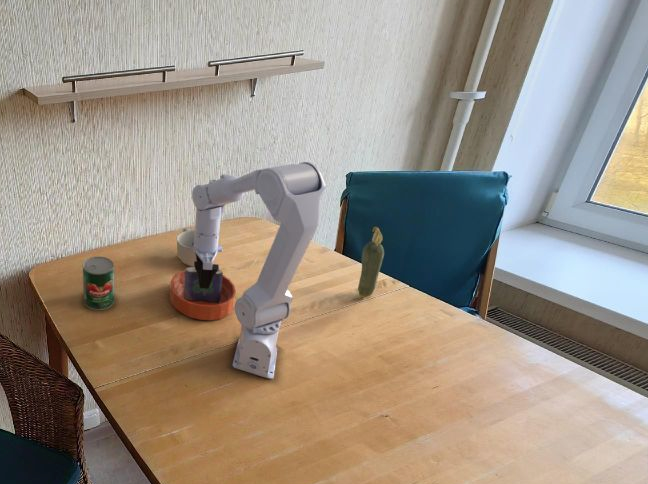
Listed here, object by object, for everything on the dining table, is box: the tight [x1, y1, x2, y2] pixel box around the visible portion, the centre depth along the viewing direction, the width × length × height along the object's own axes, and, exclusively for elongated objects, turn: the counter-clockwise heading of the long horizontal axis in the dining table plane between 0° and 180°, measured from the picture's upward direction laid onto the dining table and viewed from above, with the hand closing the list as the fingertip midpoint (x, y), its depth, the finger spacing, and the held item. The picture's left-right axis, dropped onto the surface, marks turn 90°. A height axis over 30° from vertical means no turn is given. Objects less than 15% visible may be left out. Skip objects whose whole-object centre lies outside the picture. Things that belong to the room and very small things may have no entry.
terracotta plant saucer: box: [169, 269, 237, 321], centre depth 109 cm, size 16×16×4 cm
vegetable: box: [357, 226, 385, 298], centre depth 105 cm, size 4×4×20 cm
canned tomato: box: [81, 256, 115, 311], centre depth 109 cm, size 8×8×11 cm
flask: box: [183, 266, 224, 303], centre depth 108 cm, size 9×3×11 cm, turn 81°
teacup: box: [176, 227, 197, 267], centre depth 127 cm, size 14×11×8 cm
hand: (203, 278), depth 107 cm, fingers open, 7 cm apart
